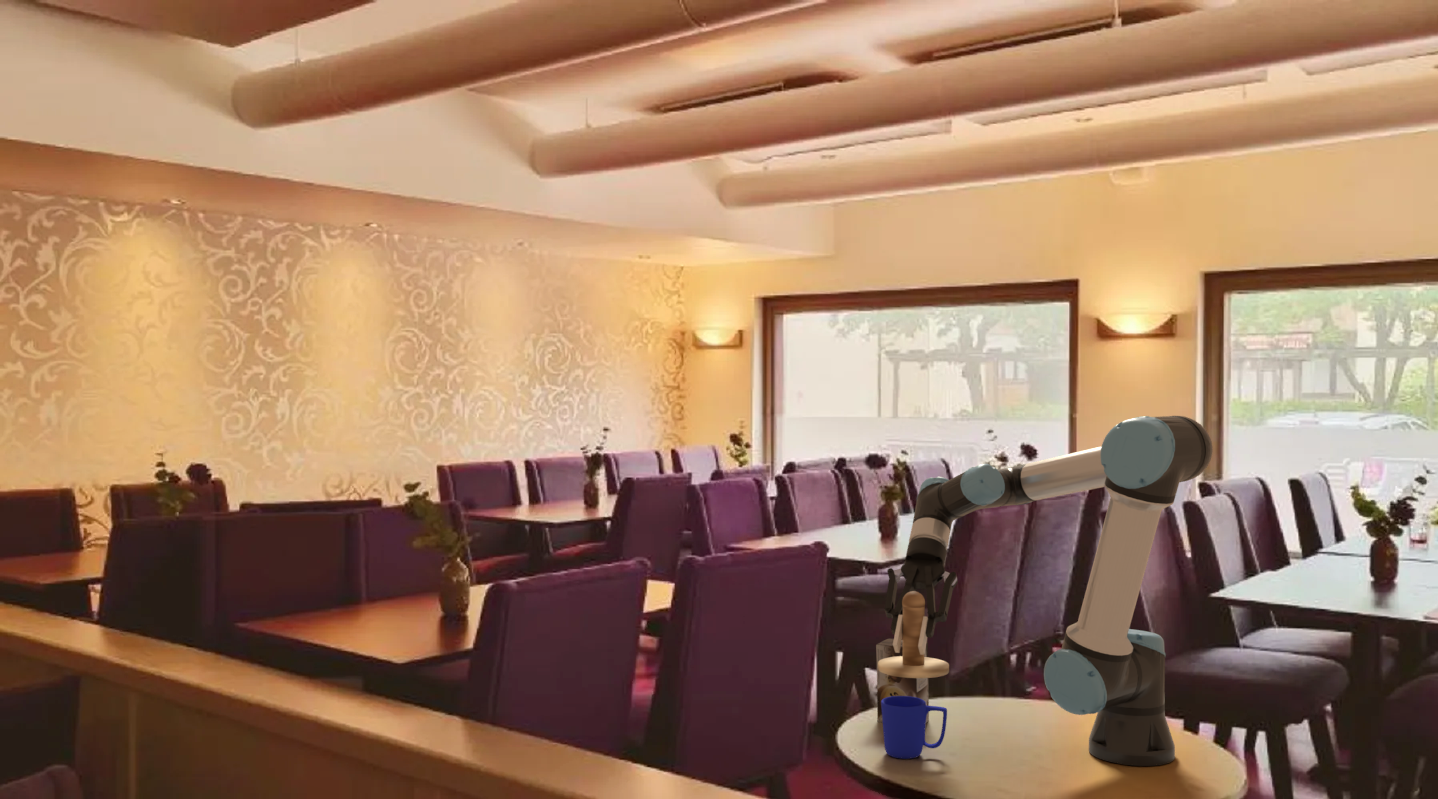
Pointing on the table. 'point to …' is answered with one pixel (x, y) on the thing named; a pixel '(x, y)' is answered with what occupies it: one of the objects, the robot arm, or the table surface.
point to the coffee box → (898, 679)
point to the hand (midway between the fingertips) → (908, 649)
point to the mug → (907, 725)
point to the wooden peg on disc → (913, 645)
